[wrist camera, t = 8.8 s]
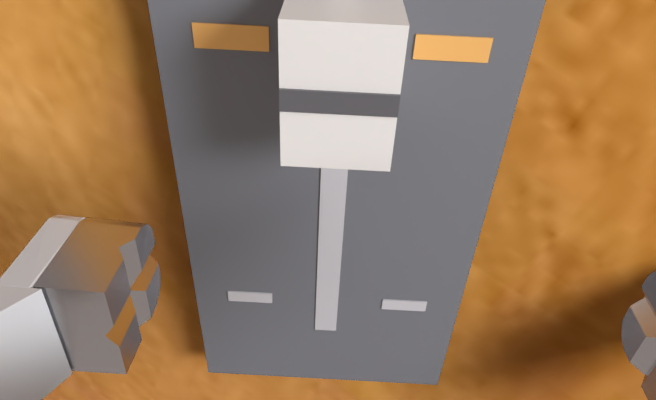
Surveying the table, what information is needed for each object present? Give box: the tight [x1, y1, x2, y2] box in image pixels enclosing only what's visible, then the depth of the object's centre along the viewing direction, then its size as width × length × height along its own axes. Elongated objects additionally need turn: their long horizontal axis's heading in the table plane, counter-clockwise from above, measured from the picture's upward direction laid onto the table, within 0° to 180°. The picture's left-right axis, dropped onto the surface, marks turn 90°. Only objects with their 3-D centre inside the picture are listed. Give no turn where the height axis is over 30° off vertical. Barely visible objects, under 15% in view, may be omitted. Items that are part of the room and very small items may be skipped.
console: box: [147, 0, 546, 385], centre depth 20 cm, size 26×12×2 cm, turn 178°
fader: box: [278, 0, 410, 172], centre depth 15 cm, size 4×3×4 cm
